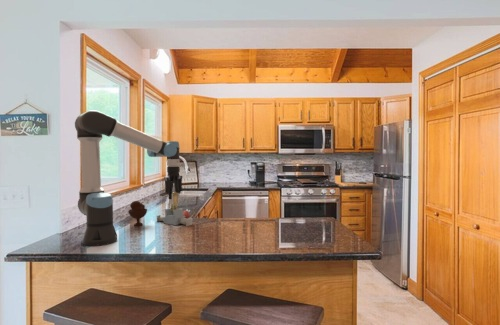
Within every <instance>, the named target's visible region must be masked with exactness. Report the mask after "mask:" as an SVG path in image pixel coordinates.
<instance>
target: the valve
mask: <svg viewBox="0 0 500 325" xmlns="http://www.w3.org/2000/svg"><path fill="white" fill-rule="evenodd" d="M190 213H191V212H190V211H189V210H187V209H186V210H184V208H183V207H182V208H178V209H175V210H173V212H171V207H169V208H165V209H164V214H163V213H162V214H157V215H156V222H157V223H159V222H163V224H164V225H171V226H178V225H185V227H188V226H189V227H190V226H192V225H193V220H194V219H193V217H190V216H191V215H190Z"/></svg>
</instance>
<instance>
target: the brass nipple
mask: <svg viewBox="0 0 500 325" xmlns="http://www.w3.org/2000/svg"><path fill="white" fill-rule="evenodd" d="M172 194H173V205H172V204H170V208H171V212H173V210H175V209H179V208H178V203H177V192H176V191H175V192H174V191H172Z"/></svg>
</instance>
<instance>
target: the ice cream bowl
mask: <svg viewBox="0 0 500 325" xmlns="http://www.w3.org/2000/svg"><path fill="white" fill-rule="evenodd" d="M129 207H130V209H128V210H127V211H128V214H129V216H130V217H131V218H133V219H134V220H135V219H136V223H134V224H133V227H143V226H144V223H141V222H140V219H143V218H144V217H145V216H146V215H147V213H148V208H146V207H145V205H144V204H143V203H141V201H139V200H134V201H132V202H130V205H129Z"/></svg>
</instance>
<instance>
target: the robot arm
mask: <svg viewBox="0 0 500 325" xmlns="http://www.w3.org/2000/svg"><path fill="white" fill-rule="evenodd" d="M74 127H75V130H76V137H77V140H79V142H80V154H81V155H80V156H81V182H82V187H81V189H80V190H79V192H78V193H79V194H78V195H79V196H78V201H77V207H78V208H77V209H78V210H79V212H80V213H81V214H82V215H84V216H85V217H86V229H85V231H84V235H83V238H82V244H83V245H84V246H87V247H88V246H89V247H95V246H96V247H97V246H105V245H109V244H113V243H116V242H117V241H118V233H117V231H116V228H115V226H114V207H113V206H114V199H113V195H112V194H111V193H107V192H105V189H104V188H103V187H102V179H101V178H102V177H101V152H100V151H101V150H100V148H101V147H100V142H101V140H102V139H103V136H106V137H108V138H109V137H114V138H117V139H120V140H122V141H125V142H126V143H131V144H132V145H134V146H137V147H140V148H143V149H145V150H146V153H147V156H148V157H150V158H158V157H159V158H161V157H162V158H166V166H167V167H166V170H167V171H166V172H167V175H166V176H164V179H163V180H164V185H165V193H166V194H168V204H169V205H171V204H172V205H173V194H172V192H173V190H175V192H177V204H180V193H181V192H182V191H183V186H182V185H183V181H182V180H183V175H180V171H181V169H180V168H181V167H180V164H181V163H180V142H179V141H177V140H172V141H171V140H167V141H164V140H161V139H160V138H156V137H154V136H152V135H149V134H147V133H145V132H143V131H140V130H138V129H136V128H133V127H132V126H129V125H126V124H123V123H121V122H119V121H118V119H117V118H115V117H112V116H111V115H108V114H106V113H104V112H101V111H99V110H93V109H92V110H88V111H86V112H84V113H81V114H79V115H78V116H77V117H76V119H75V121H74Z"/></svg>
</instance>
